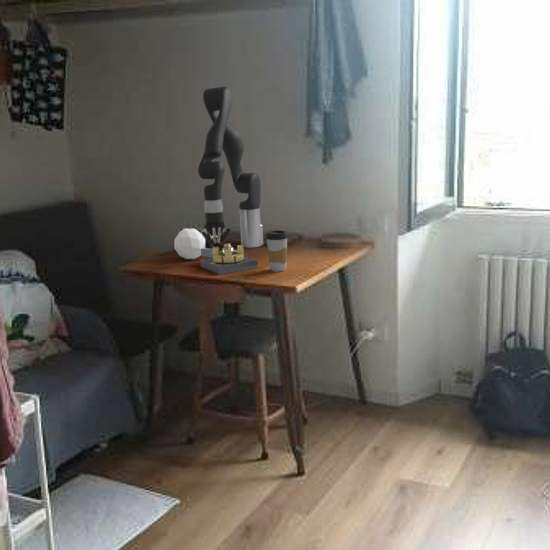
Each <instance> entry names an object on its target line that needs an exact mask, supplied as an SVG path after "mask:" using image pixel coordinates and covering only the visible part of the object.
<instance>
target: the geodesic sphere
mask: <svg viewBox="0 0 550 550" xmlns="http://www.w3.org/2000/svg"><path fill="white" fill-rule="evenodd" d="M173 248H174V250H175V251H176V252H177V254H178V256H180V257H181V258H183V259H184V260H196V259H198V258H199V257H200V256H201V248H206V239H205V238H204V237H203V236H202V234H201V233H200V231H198V230H197V229H196V228H192V227H190V228H185V227H183V228H182V230H181V231H179V232H178V234H177V235H176V237H175V238H174V247H173Z"/></svg>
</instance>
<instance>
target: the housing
mask: <svg viewBox="0 0 550 550" xmlns="http://www.w3.org/2000/svg"><path fill="white" fill-rule="evenodd" d="M229 248H232V255H234V251H233V250H234V247H233V246H231V247H224V246H223V247H222V248H221V249H222V250H221V251H223V256H225V249H229ZM258 265H259V264H258V260H257V259H254V258H251V257H249V256H246V255H244V260H242V261H238V262H232V263H224V262H223V263H218V262H214V261H213V258H210V257H208V258H202V259H200V268H202V269H205V270H208V271H210V272H212V273H215V274H217V275H219V274H220V275H224V274H230V272H231V273H237V272H240V271H242V270H243V271H247V270H252V269H258V267H259V266H258ZM236 271H237V272H236Z"/></svg>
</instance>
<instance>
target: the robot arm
mask: <svg viewBox="0 0 550 550" xmlns="http://www.w3.org/2000/svg"><path fill="white" fill-rule="evenodd" d="M202 99H203V104H204V107H205V109H206V111H207V114H208V116H209V117H210V120H211V122H212V125H211V127H210V129H209V130H208V131H207V133H206V137H205V144H204V152H203V154H202V157H201V160H200V162H199V164H198V169H197V173H198V176H199V177H200V179H202V180H214V181H213V183H212V184H208V185H205V186H204V188H203V192H204V194H203V195H204V221H205V225H204V229H202V230H201V231H199V232H200V233H201V234H202V236H203V237H204V238H205V241H206V242H207V243H210V244H211V245H212V247H218V248H220V249H221V242H224V241H225V240H226V238H227V236H228V235H229V233H230V231H231V229H230V228H228V227H227V226H226V224H225V218H224V205H223V199H222V198H223V197H222V196H223V195H222V187H223V182H224V181H223V180H224V176H225V166H224V164H223V163H222V162H221V161H216V160H215V159H218V158H220V157H222V155H223V153H224V156H225V159H226V162H227V164H228V167H229V170H230V175H231V179H232V183H233V186H234V190H235V191H236V192H237V193H239V194H248V196H247V198H246V200H243V201H241V202H239V204H238V207H239V226H240V227H239V228H240V245H243V247H244V248H258V247H261V246H263V245H264V232H263V231H264V230H263V229H264V228H263V224H262V223H261V210H260V209H261V208H260V206H261V205H260V204H261V178H260V176H259V174H258V173H256V172H244V171H243V169H242V165H241V162H242V157H243V154H244V151H245V145H244V142H243V139H242V136H241V134H240V132H239V130H238V129H237V128H236V127H235V126H234V125H233V124H232V123H231V122H229V118H230V113H231V109H232V105H233V94H232V91H231V89H230V87H227V86H218V87H212V88H211V87H210V88H207V89H205V90H204V91H203V95H202ZM213 160H215V161H213ZM208 234H209V235H208ZM209 236H210V237H209ZM262 244H263V245H262ZM212 247H211V248H212Z"/></svg>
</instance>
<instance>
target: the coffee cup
mask: <svg viewBox="0 0 550 550" xmlns="http://www.w3.org/2000/svg"><path fill="white" fill-rule="evenodd" d="M265 238H266V244H267V245H266V246H267V253H268V263H269V269H270V271H271V272H277V273H278V272H285V271H286V270H287V266H288V265H287V264H288V263H287V261H288V233H287V231H286V230H281V229H280V230H270V231H267V233H266V237H265Z"/></svg>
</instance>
